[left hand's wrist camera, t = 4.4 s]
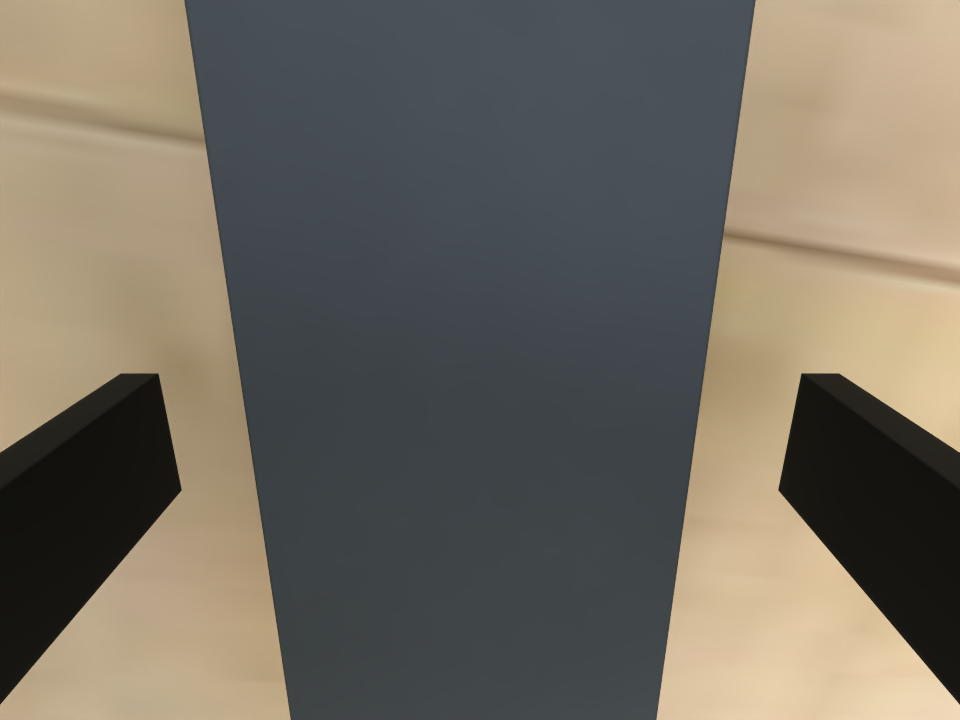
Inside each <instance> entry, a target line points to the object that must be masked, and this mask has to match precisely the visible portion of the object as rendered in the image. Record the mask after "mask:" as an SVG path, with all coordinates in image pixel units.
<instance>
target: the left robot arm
mask: <svg viewBox="0 0 960 720" xmlns="http://www.w3.org/2000/svg"><path fill="white" fill-rule="evenodd" d="M180 492H181V485H180V479H179V474H178V469H177V464H176V459H175V454H174V449H173V444H172V439H171V434H170V429H169V424H168V419H167V414H166V409H165V404H164V399H163V394H162V389H161V384H160V379H159V374H120V375H118V376H116V377H115V378H113V379H112V380H110V381H109V382H107V383H106V384H104V385H103V386H101V387H100V388H98V389H97V390H95V391H94V392H92V393H91V394H89V395H88V396H86V397H84V398H83V399H81V400H80V401H78V402H77V403H75V404H74V405H72V406H71V407H69V408H68V409H66V410H65V411H63V412H62V413H60V414H59V415H57V416H56V417H54V418H53V419H51V420H49V421H48V422H46V423H45V424H43V425H42V426H40V427H39V428H37V429H36V430H34V431H33V432H31V433H30V434H28V435H27V436H25V437H24V438H22V439H21V440H19V441H17V442H16V443H14V444H13V445H11V446H10V447H8V448H7V449H5V450H4V451H2V452H1V453H0V704H1V703H2V702H3V701H4V699H5V698H6V697H7V696H8V695H9V693H10V692H11V691H12V690H13V689H14V688H15V686H16V685H17V684H18V683H19V682H20V680H21V679H22V678H23V677H24V676H25V675H26V673H27V672H28V671H29V670H30V669H31V668H32V666H33V665H34V664H35V663H36V662H37V660H38V659H39V658H40V657H41V656H42V655H43V653H44V652H45V651H46V650H47V649H48V647H49V646H50V645H51V644H52V643H53V642H54V640H55V639H56V638H57V637H58V636H59V634H60V633H61V632H62V631H63V630H64V629H65V627H66V626H67V625H68V624H69V623H70V621H71V620H72V619H73V618H74V617H75V616H76V614H77V613H78V612H79V611H80V610H81V608H82V607H83V606H84V605H85V604H86V603H87V601H88V600H89V599H90V598H91V597H92V595H93V594H94V593H95V592H96V591H97V590H98V588H99V587H100V586H101V585H102V584H103V582H104V581H105V580H106V579H107V578H108V577H109V575H110V574H111V573H112V572H113V571H114V569H115V568H116V567H117V566H118V565H119V564H120V562H121V561H122V560H123V559H124V558H125V556H126V555H127V554H128V553H129V552H130V551H131V549H132V548H133V547H134V546H135V545H136V544H137V542H138V541H139V540H140V539H141V538H142V536H143V535H144V534H145V533H146V532H147V531H148V529H149V528H150V527H151V526H152V525H153V523H154V522H155V521H156V520H157V519H158V518H159V516H160V515H161V514H162V513H163V512H164V510H165V509H166V508H167V507H168V506H169V505H170V503H171V502H172V501H173V500H174V499H175V497H176V496H177V495H178V494H179V493H180ZM779 492H780V493H781V494H782V495H783V496H784V497H785V499H786V500H787V501H788V502H789V503H790V505H791V506H792V507H793V508H794V509H795V510H796V512H797V513H798V514H799V515H800V516H801V518H802V519H803V520H804V521H805V522H806V523H807V525H808V526H809V527H810V528H811V529H812V531H813V532H814V533H815V534H816V535H817V536H818V538H819V539H820V540H821V541H822V542H823V544H824V545H825V546H826V547H827V548H828V549H829V551H830V552H831V553H832V554H833V555H834V556H835V558H836V559H837V560H838V561H839V562H840V564H841V565H842V566H843V567H844V568H845V569H846V571H847V572H848V573H849V574H850V575H851V577H852V578H853V579H854V580H855V581H856V582H857V584H858V585H859V586H860V587H861V588H862V590H863V591H864V592H865V593H866V594H867V595H868V597H869V598H870V599H871V600H872V601H873V603H874V604H875V605H876V606H877V607H878V608H879V610H880V611H881V612H882V613H883V614H884V616H885V617H886V618H887V619H888V620H889V621H890V623H891V624H892V625H893V626H894V627H895V629H896V630H897V631H898V632H899V633H900V634H901V636H902V637H903V638H904V639H905V640H906V642H907V643H908V644H909V645H910V646H911V647H912V649H913V650H914V651H915V652H916V653H917V655H918V656H919V657H920V658H921V659H922V660H923V662H924V663H925V664H926V665H927V666H928V668H929V669H930V670H931V671H932V672H933V673H934V675H935V676H936V677H937V678H938V679H939V680H940V682H941V683H942V684H943V685H944V686H945V688H946V689H947V690H948V691H949V692H950V693H951V695H952V696H953V697H954V698H955V699H956V701H957V702H958V703H959V704H960V453H959V452H958V451H956V450H955V449H953V448H952V447H950V446H949V445H947V444H946V443H944V442H943V441H941V440H939V439H938V438H936V437H935V436H933V435H932V434H930V433H929V432H927V431H926V430H924V429H923V428H921V427H920V426H918V425H917V424H915V423H914V422H912V421H911V420H909V419H907V418H906V417H904V416H903V415H901V414H900V413H898V412H897V411H895V410H894V409H892V408H891V407H889V406H888V405H886V404H885V403H883V402H882V401H880V400H879V399H877V398H876V397H874V396H872V395H871V394H869V393H868V392H866V391H865V390H863V389H862V388H860V387H859V386H857V385H856V384H854V383H853V382H851V381H850V380H848V379H847V378H845V377H844V376H842V375H840V374H801V379H800V384H799V389H798V394H797V399H796V404H795V409H794V414H793V419H792V424H791V429H790V434H789V439H788V444H787V449H786V454H785V459H784V464H783V469H782V474H781V479H780V485H779Z"/></svg>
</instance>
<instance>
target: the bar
mask: <svg viewBox="0 0 960 720" xmlns="http://www.w3.org/2000/svg"><path fill="white" fill-rule="evenodd" d="M185 7H186V14H187V20H188V27H189V34H190V41H191V47H192V54H193V61H194V68H195V74H196V81H197V88H198V95H199V101H200V108H201V115H202V122H203V129H204V135H205V142H206V149H207V156H208V162H209V169H210V176H211V183H212V189H213V196H214V203H215V210H216V216H217V223H218V230H219V237H220V243H221V250H222V257H223V264H224V271H225V277H226V284H227V291H228V298H229V304H230V311H231V318H232V325H233V331H234V338H235V345H236V352H237V358H238V365H239V372H240V379H241V385H242V392H243V399H244V406H245V413H246V419H247V426H248V433H249V440H250V446H251V453H252V460H253V467H254V473H255V480H256V487H257V494H258V500H259V507H260V514H261V521H262V527H263V534H264V541H265V548H266V555H267V561H268V568H269V575H270V582H271V588H272V595H273V602H274V609H275V615H276V622H277V629H278V636H279V642H280V649H281V656H282V663H283V669H284V676H285V683H286V690H287V697H288V703H289V710H290V717H291V720H656V718H657V711H658V703H659V696H660V689H661V682H662V674H663V667H664V660H665V653H666V645H667V638H668V631H669V624H670V616H671V609H672V602H673V595H674V587H675V580H676V573H677V566H678V558H679V551H680V544H681V537H682V529H683V522H684V515H685V508H686V500H687V493H688V486H689V479H690V471H691V464H692V457H693V449H694V442H695V435H696V428H697V420H698V413H699V406H700V399H701V391H702V384H703V377H704V370H705V362H706V355H707V348H708V341H709V333H710V326H711V319H712V312H713V304H714V297H715V290H716V283H717V275H718V268H719V261H720V254H721V246H722V239H723V232H724V225H725V217H726V210H727V203H728V196H729V188H730V181H731V174H732V167H733V159H734V152H735V145H736V138H737V130H738V123H739V116H740V108H741V101H742V94H743V87H744V79H745V72H746V65H747V58H748V50H749V43H750V36H751V29H752V21H753V14H754V7H755V0H185Z"/></svg>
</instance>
